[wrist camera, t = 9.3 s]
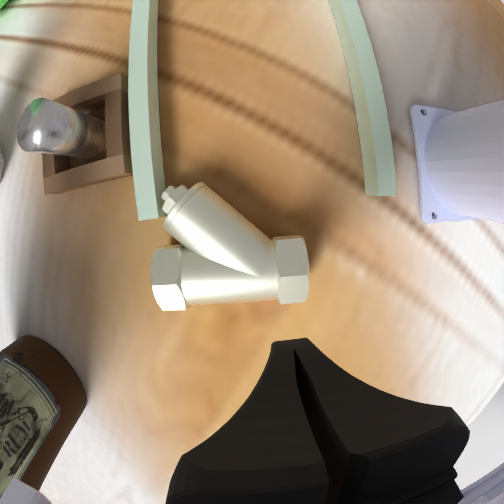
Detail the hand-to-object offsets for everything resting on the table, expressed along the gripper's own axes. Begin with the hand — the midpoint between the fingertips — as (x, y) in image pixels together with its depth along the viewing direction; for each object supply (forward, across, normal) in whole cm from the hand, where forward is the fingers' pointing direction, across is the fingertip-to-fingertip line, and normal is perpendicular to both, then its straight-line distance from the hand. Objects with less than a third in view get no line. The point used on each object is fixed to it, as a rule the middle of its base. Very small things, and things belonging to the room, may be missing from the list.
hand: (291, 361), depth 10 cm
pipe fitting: (+8, +2, -4) cm, 9 cm away
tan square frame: (+8, +11, -12) cm, 18 cm away
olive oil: (+8, +22, +8) cm, 24 cm away
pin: (+8, +11, -12) cm, 18 cm away
